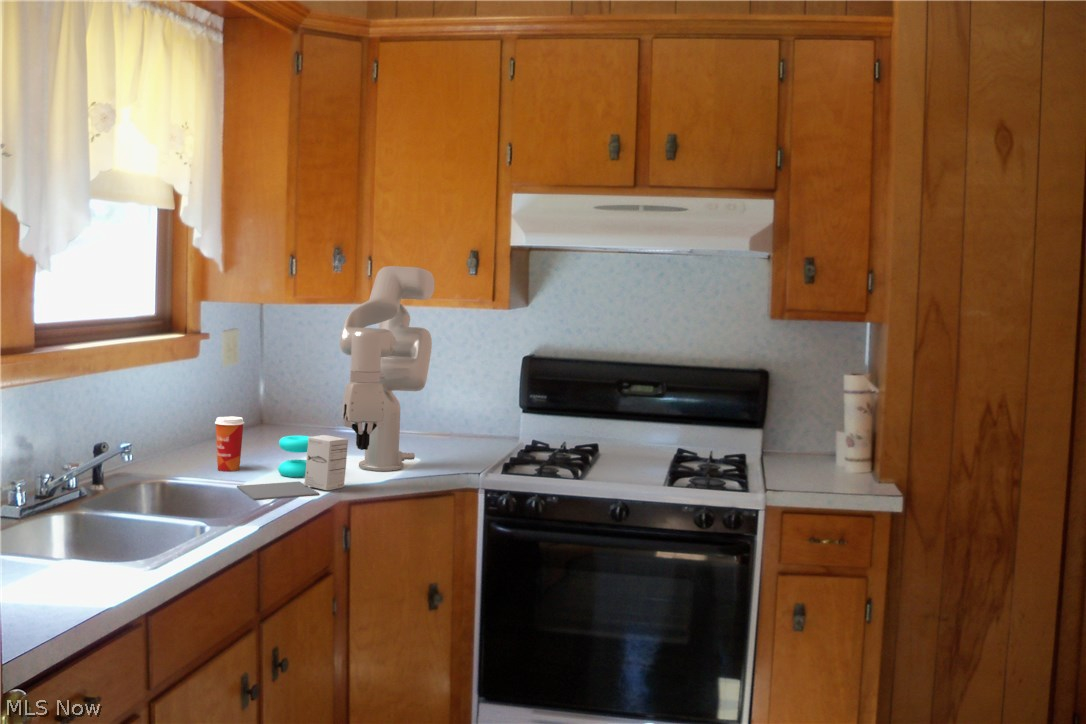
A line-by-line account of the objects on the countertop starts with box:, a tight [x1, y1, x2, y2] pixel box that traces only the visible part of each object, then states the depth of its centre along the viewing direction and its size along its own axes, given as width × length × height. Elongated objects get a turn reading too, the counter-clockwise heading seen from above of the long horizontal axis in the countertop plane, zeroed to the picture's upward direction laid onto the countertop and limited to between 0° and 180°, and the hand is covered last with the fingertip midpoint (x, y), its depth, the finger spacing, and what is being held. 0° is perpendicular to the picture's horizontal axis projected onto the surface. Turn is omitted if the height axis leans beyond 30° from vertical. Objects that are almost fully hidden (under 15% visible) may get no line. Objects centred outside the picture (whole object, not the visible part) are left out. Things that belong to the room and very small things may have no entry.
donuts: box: [277, 434, 311, 478], centre depth 265 cm, size 10×10×10 cm
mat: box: [236, 481, 320, 501], centre depth 244 cm, size 16×15×1 cm
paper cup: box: [214, 415, 245, 472], centre depth 267 cm, size 8×8×14 cm
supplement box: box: [304, 434, 349, 491], centre depth 250 cm, size 7×7×13 cm
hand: (362, 448), depth 255 cm, fingers closed
